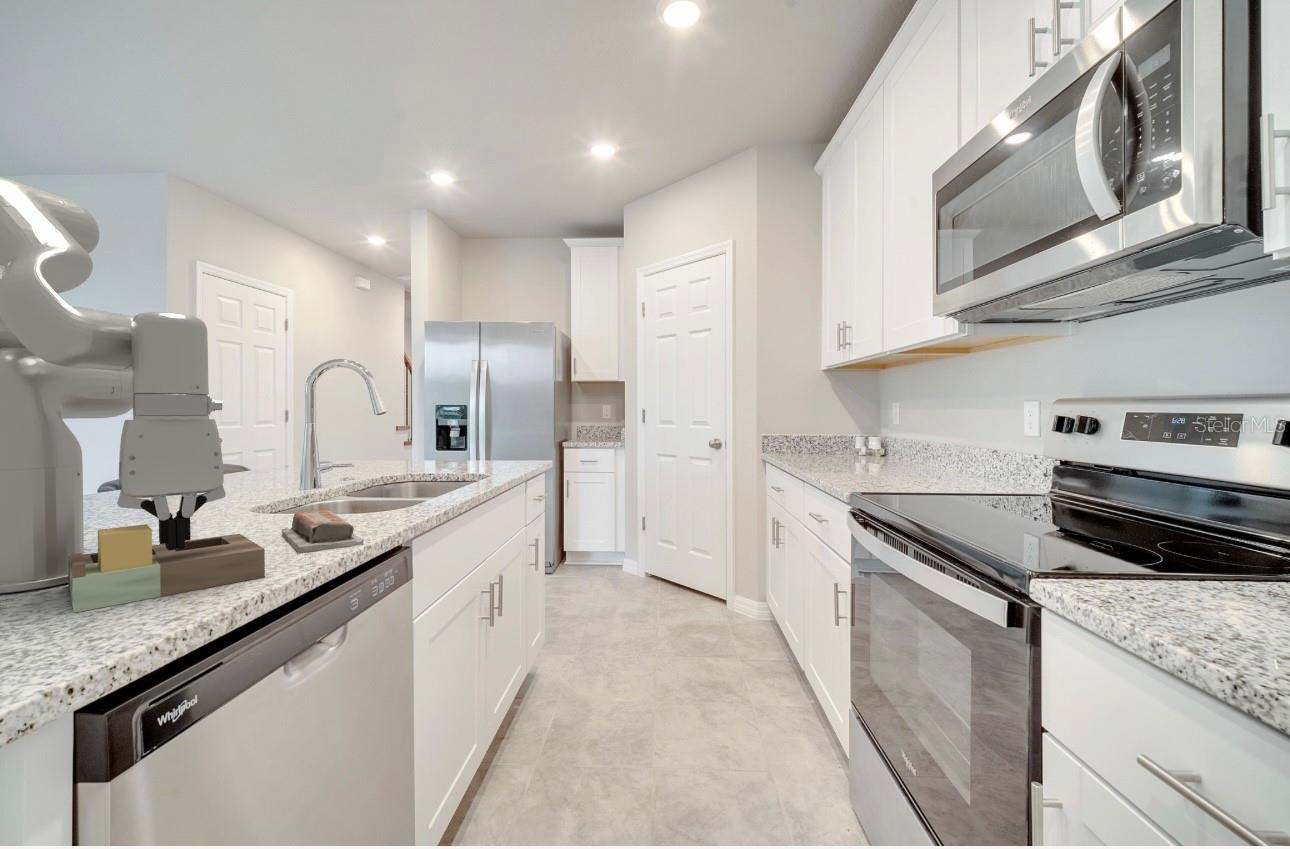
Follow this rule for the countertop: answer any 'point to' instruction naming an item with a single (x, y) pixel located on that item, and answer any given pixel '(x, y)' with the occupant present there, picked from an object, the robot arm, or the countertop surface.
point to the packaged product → (319, 532)
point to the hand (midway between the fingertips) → (175, 547)
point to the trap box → (165, 572)
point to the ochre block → (124, 548)
